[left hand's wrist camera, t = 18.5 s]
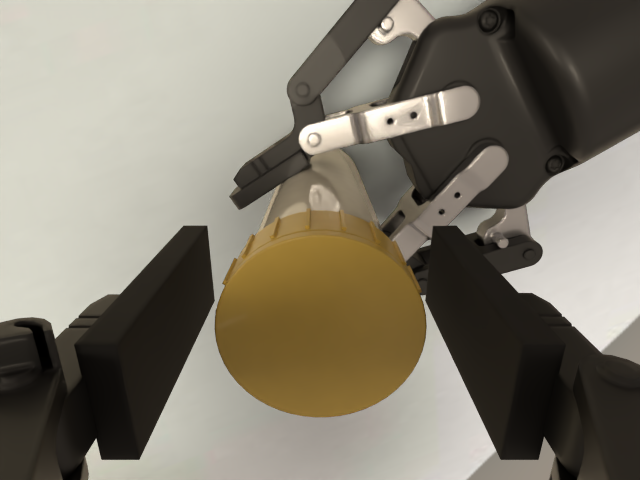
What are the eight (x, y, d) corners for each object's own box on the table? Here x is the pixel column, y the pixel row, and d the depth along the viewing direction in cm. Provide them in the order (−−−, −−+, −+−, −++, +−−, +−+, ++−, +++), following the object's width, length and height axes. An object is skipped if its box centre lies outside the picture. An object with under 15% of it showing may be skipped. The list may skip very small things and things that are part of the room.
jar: (313, 126, 24) (303, 195, 10) (375, 176, 25) (447, 304, 11) (265, 189, 25) (196, 330, 11) (326, 234, 26) (334, 417, 12)
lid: (329, 399, 13) (330, 451, 12) (191, 304, 12) (168, 345, 10) (451, 286, 12) (475, 325, 10) (308, 166, 11) (306, 184, 9)
